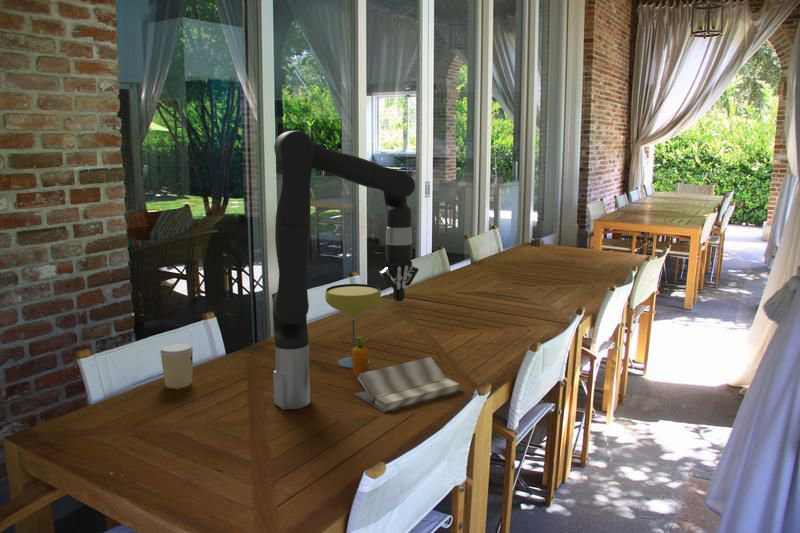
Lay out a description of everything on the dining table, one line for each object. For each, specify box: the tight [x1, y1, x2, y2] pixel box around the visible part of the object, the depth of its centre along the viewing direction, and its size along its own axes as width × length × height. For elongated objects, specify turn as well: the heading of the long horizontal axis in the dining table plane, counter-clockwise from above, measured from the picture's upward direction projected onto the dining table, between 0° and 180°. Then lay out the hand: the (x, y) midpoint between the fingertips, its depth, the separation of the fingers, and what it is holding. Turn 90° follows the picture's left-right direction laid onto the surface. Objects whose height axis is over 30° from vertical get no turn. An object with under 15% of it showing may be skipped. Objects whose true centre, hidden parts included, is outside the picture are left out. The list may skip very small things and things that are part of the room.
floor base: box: [353, 377, 464, 414], centre depth 195 cm, size 28×16×3 cm, turn 125°
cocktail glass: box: [324, 283, 382, 369], centre depth 219 cm, size 18×18×25 cm
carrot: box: [351, 334, 369, 383], centre depth 202 cm, size 5×5×15 cm
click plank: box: [357, 356, 447, 401], centre depth 197 cm, size 26×9×2 cm
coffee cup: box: [159, 342, 194, 388], centre depth 200 cm, size 9×9×12 cm
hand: (398, 300), depth 194 cm, fingers closed
